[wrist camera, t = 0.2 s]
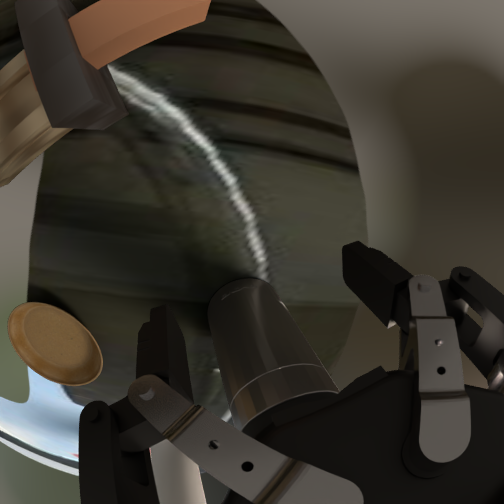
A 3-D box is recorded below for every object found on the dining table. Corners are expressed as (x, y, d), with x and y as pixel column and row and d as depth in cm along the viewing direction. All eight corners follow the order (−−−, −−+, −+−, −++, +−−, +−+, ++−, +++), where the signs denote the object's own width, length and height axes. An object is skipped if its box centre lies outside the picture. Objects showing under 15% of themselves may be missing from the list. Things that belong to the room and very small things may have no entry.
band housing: (90, 26, 16) (50, -24, 6) (129, 114, 22) (93, 98, 11) (-18, 115, 15) (-84, 120, 5) (15, 198, 21) (-50, 237, 10)
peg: (187, -12, 14) (190, -35, 10) (204, 20, 15) (210, -1, 12) (44, 62, 13) (23, 51, 9) (57, 96, 15) (35, 91, 11)
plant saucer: (63, 274, 26) (55, 285, 24) (125, 360, 33) (123, 373, 31) (-2, 310, 25) (-9, 321, 23) (56, 380, 32) (53, 392, 29)
